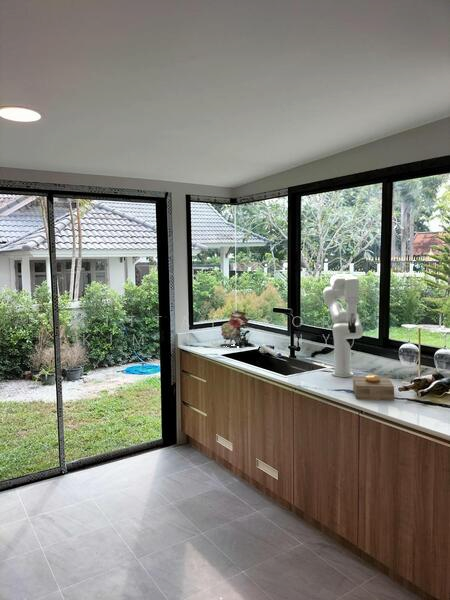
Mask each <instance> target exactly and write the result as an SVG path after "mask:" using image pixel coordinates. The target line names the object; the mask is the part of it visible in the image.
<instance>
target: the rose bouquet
mask: <svg viewBox="0 0 450 600" xmlns="http://www.w3.org/2000/svg"><path fill="white" fill-rule="evenodd" d="M229 316H230V318H229V321H227V322H225V323H223V324H222V325H221V326H220V328H221V329H220V330H221V336H223V337H222V338H223V339H224V340H225V341H223V342H224V343H220V345H219V347H220V346H227V347H229V348H228V349H231V348H233V349H235V348H237V346H241V347H239V348H241V349H242V348H243V347H244V348H246V346H247V345H249V346H251V347H255V344H254V343H251V342H249V339H247V337H248V336H246V335H245V336H244V337H242V333H241V332H243V330H242V329H252V327H250V326H248V322H249V321H250V320H251V318H247V313H246V312H243V311H240V310H233V311H231V312H230V314H229ZM227 340H228V341H229V343H227ZM233 341H234V343H236V345H237V346H236V345H235V346H231V345H233V343H232V342H233Z"/></svg>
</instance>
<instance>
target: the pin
mask: <svg viewBox="0 0 450 600" xmlns="http://www.w3.org/2000/svg"><path fill="white" fill-rule="evenodd" d="M380 377H381V376H380V375H378V374H365V381H366V382H370V383H378V382H380Z"/></svg>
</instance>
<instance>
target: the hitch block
mask: <svg viewBox="0 0 450 600" xmlns="http://www.w3.org/2000/svg"><path fill="white" fill-rule="evenodd" d="M365 376H366V375H365ZM365 376H364V375H363V376H362V375H360V376H358V375H356V376H355V375H353V376H352V385H353V386H352V390H353V393H354V396H355V400H366V401H367V400H369V401H370V400H372V401H373V400H374V401H376V400H377V401H395V386H394V384H393V381H392V380H391V379H390V377H389V376H380V382H378V383H370V382H366V381H365Z"/></svg>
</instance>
